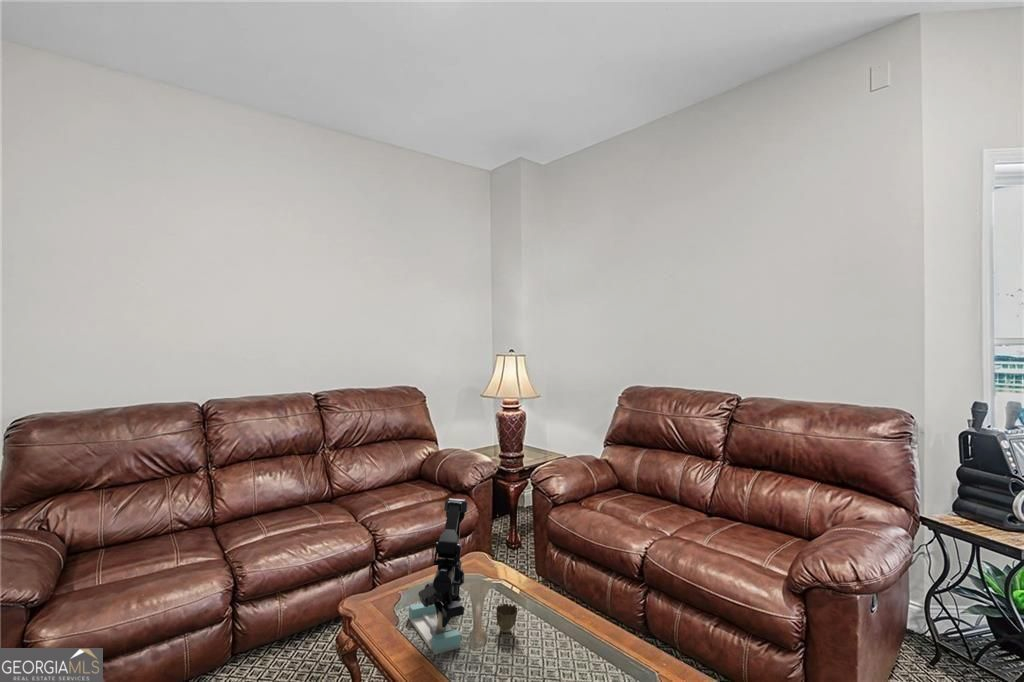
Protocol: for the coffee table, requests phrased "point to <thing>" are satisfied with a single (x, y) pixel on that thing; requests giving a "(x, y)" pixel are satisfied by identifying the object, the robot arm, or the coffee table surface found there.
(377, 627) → the coffee table surface
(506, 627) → the cup
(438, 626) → the carriage
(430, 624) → the rail track
